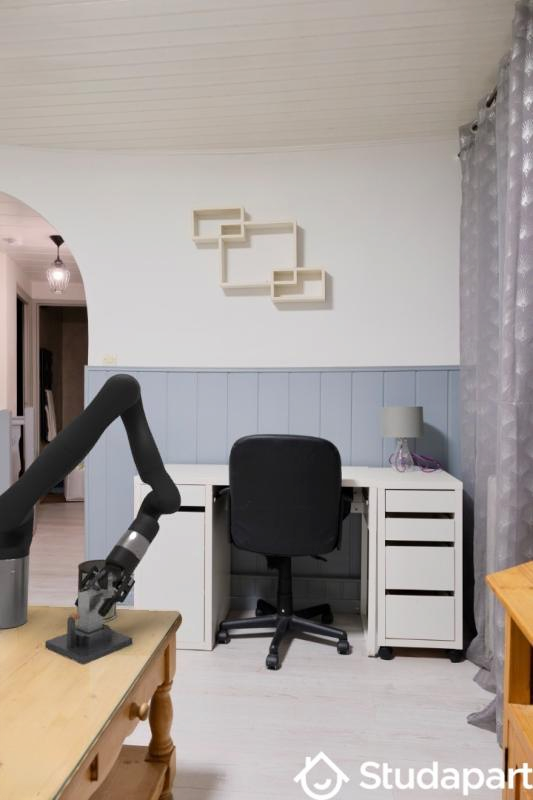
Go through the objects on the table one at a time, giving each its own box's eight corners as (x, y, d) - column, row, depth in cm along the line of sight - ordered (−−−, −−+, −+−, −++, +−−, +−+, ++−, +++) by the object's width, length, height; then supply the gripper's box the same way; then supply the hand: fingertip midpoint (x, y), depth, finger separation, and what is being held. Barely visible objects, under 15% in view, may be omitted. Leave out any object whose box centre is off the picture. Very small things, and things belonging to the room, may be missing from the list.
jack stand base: (45, 647, 133) (46, 611, 134) (94, 629, 145) (95, 596, 145) (82, 664, 125) (84, 625, 125) (132, 644, 137) (133, 608, 137)
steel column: (76, 639, 135) (78, 592, 135) (91, 633, 138) (92, 588, 138) (87, 643, 132) (89, 596, 132) (102, 638, 136) (103, 592, 136)
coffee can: (68, 617, 153) (70, 564, 153) (100, 607, 161) (101, 557, 161) (92, 627, 147) (94, 571, 147) (124, 616, 155) (126, 563, 155)
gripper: (101, 539, 146) (60, 596, 137) (139, 548, 138) (99, 609, 129) (117, 556, 151) (79, 612, 141) (155, 566, 142) (117, 626, 133)
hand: (88, 610), depth 135 cm, fingers open, 8 cm apart
